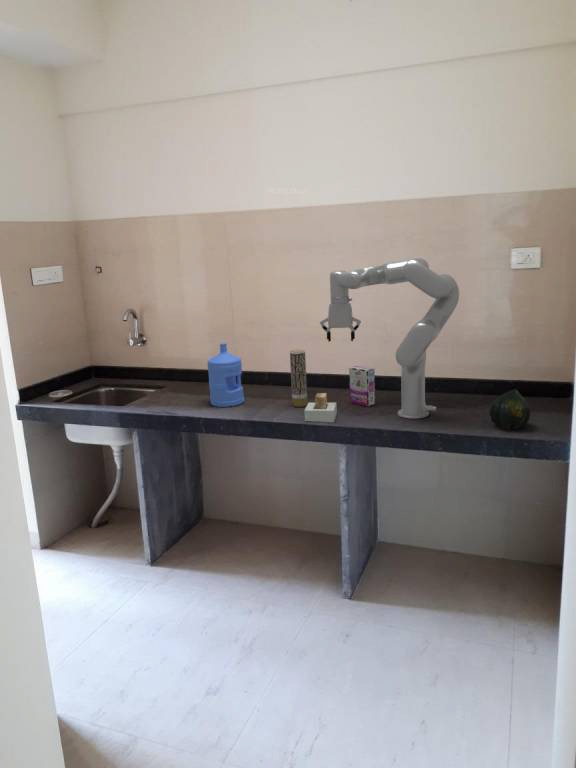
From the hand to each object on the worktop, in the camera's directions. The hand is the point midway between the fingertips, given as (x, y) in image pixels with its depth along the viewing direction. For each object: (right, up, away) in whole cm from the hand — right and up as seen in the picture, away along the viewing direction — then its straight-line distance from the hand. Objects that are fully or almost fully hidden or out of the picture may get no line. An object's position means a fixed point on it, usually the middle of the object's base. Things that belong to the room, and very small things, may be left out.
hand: (340, 340), depth 271 cm
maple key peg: (-8, -33, -4) cm, 34 cm away
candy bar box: (+11, -27, +14) cm, 33 cm away
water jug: (-51, -27, +27) cm, 64 cm away
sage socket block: (-9, -33, -4) cm, 34 cm away
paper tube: (-17, -28, +17) cm, 37 cm away
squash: (+63, -35, -27) cm, 76 cm away
